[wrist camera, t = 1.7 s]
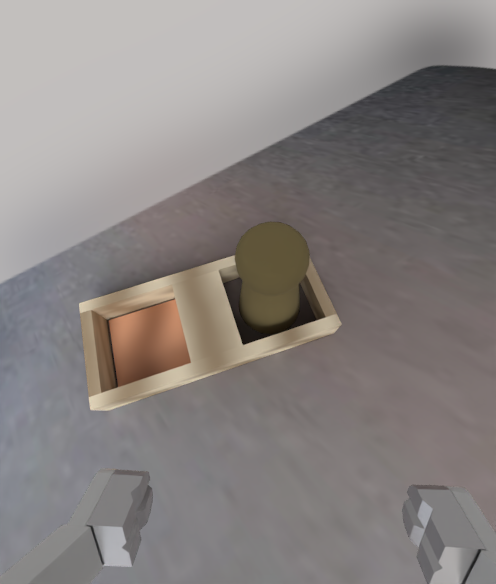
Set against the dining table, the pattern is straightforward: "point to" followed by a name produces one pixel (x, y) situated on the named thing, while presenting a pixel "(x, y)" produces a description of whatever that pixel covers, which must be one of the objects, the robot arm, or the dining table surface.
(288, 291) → the olive round-headed peg
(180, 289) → the socket rail
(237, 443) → the dining table surface
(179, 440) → the dining table surface
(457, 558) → the robot arm
